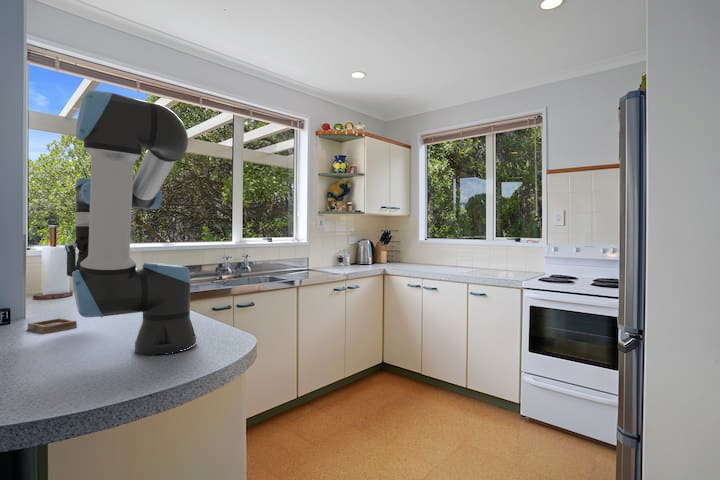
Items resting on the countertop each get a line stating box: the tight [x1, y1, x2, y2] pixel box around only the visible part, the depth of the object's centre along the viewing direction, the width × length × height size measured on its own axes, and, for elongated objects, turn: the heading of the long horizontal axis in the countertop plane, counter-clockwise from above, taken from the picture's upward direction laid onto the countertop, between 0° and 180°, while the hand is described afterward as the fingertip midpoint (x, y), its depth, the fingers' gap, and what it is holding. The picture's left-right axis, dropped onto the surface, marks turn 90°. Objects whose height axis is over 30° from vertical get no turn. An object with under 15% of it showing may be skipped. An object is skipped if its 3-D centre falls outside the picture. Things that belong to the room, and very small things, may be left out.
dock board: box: [27, 317, 78, 334], centre depth 123 cm, size 10×9×2 cm
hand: (89, 296), depth 124 cm, fingers closed on supplement bottle, 5 cm apart
